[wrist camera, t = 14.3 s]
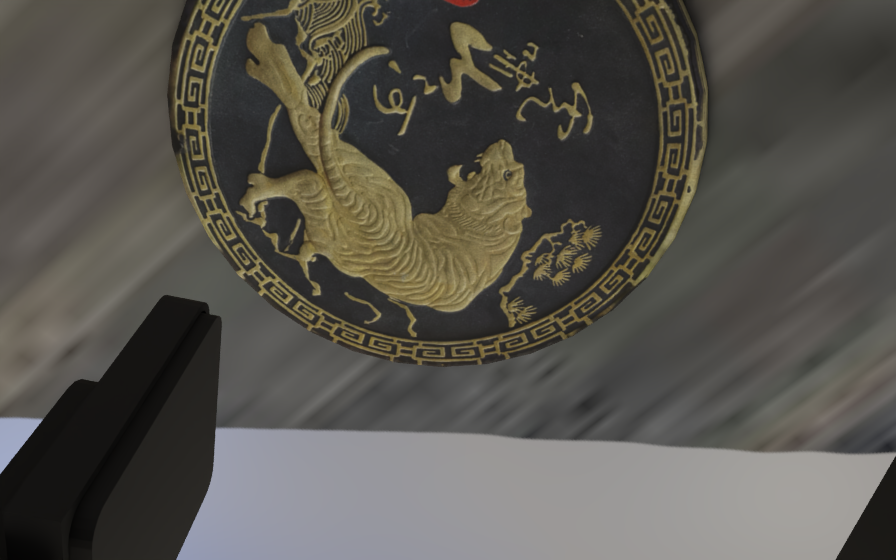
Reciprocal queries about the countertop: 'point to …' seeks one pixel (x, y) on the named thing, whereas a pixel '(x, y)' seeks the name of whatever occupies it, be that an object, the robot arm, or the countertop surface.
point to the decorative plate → (439, 161)
